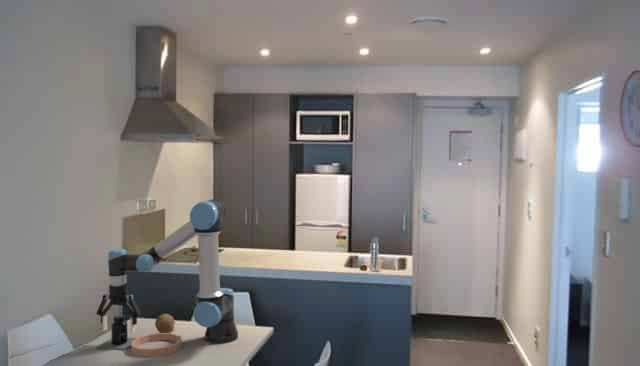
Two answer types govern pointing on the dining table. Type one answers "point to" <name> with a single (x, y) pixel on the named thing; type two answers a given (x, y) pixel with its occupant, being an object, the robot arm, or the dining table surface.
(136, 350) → the pink polygonal hoop
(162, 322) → the natural sponge
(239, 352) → the dining table surface
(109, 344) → the mat
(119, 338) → the supplement bottle
